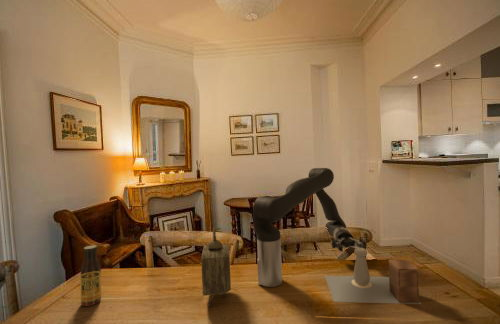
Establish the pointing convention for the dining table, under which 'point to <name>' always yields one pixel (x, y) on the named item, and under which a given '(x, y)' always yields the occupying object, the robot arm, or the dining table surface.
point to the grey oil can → (215, 269)
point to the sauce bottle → (90, 277)
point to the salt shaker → (361, 267)
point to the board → (361, 290)
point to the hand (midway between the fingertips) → (352, 249)
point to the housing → (403, 281)
